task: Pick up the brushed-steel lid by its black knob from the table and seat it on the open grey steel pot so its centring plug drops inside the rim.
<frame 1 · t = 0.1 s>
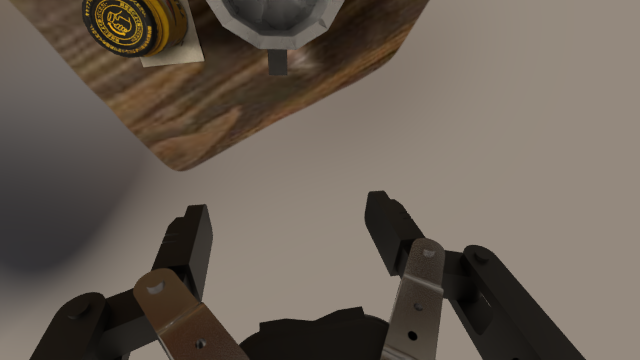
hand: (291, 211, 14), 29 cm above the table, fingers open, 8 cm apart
condiment: (162, 25, 33), on the table
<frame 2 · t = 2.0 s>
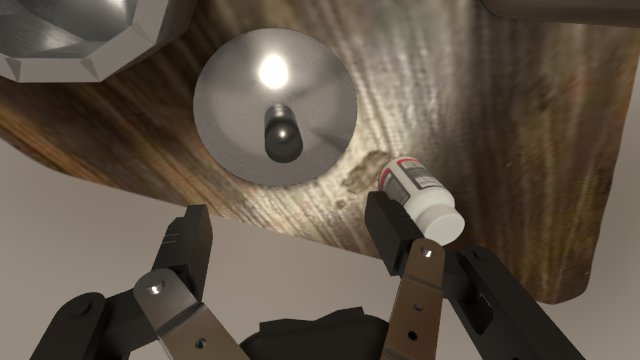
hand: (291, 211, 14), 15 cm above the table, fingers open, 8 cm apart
lid: (278, 112, 26), on the table
pill bottle: (398, 173, 33), on the table
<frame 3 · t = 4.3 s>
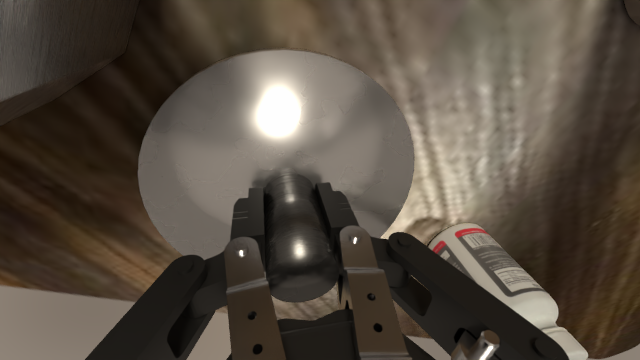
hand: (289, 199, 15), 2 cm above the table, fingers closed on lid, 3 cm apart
lid: (286, 175, 17), on the table, touching gripper
pill bottle: (451, 242, 24), on the table
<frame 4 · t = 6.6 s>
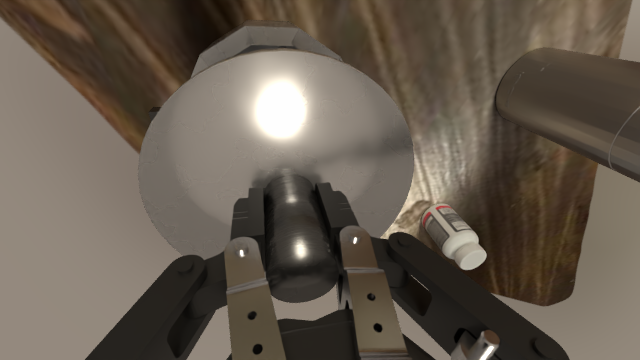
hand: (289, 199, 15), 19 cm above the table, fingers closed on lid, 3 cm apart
pot: (272, 96, 30), on the table
lid: (286, 176, 17), point 17 cm above the table, touching gripper
pill bottle: (434, 214, 46), on the table
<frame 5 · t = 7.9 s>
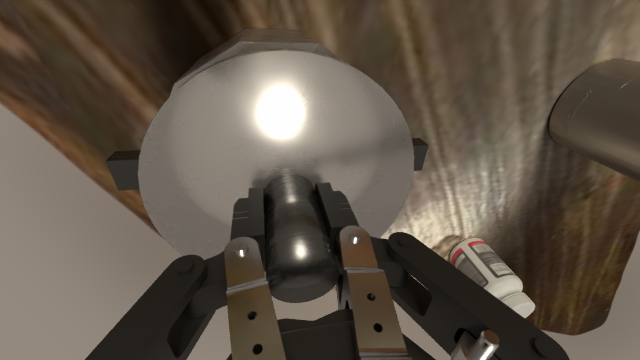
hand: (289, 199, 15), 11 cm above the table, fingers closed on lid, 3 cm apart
pot: (277, 123, 24), on the table
lid: (286, 176, 17), point 9 cm above the table, touching gripper
pill bottle: (465, 248, 39), on the table
when the fingers open (10 cm above the table, at t = 8.9 s): lid stays where it is, resting on pot.
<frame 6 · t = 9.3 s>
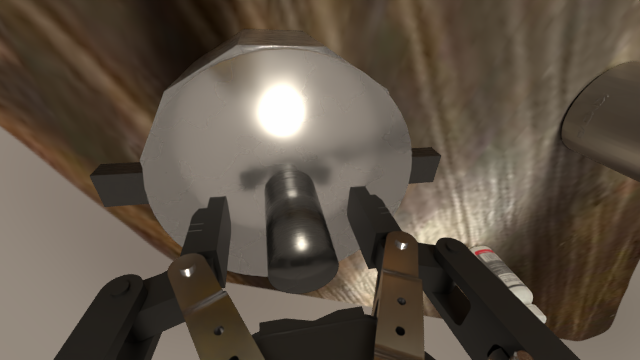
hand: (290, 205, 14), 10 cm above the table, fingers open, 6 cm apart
pot: (277, 129, 22), on the table
lid: (286, 172, 17), point 7 cm above the table, touching pot
pill bottle: (471, 257, 38), on the table
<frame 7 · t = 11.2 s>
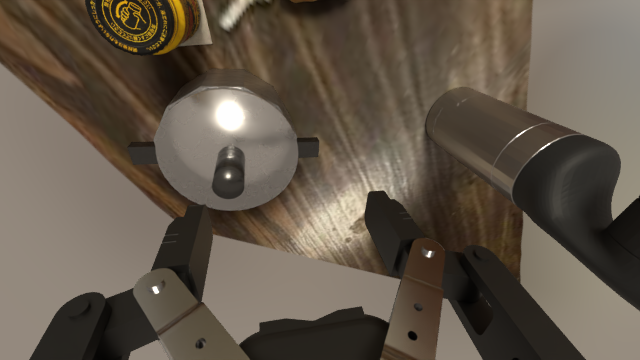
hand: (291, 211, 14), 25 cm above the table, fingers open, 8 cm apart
pot: (234, 126, 36), on the table
condiment: (161, 7, 28), on the table
lid: (232, 149, 31), point 7 cm above the table, touching pot
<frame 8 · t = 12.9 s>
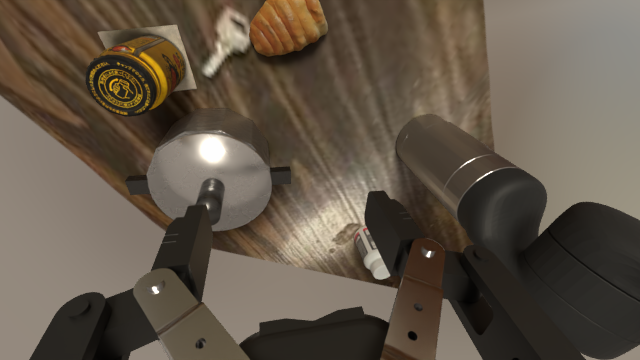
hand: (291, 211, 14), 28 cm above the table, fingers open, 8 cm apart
pastry: (290, 21, 34), on the table
pot: (220, 155, 41), on the table
condiment: (152, 61, 33), on the table
lid: (215, 179, 36), point 7 cm above the table, touching pot
pill bottle: (365, 233, 57), on the table
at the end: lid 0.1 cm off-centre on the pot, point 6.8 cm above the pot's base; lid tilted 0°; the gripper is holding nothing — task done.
